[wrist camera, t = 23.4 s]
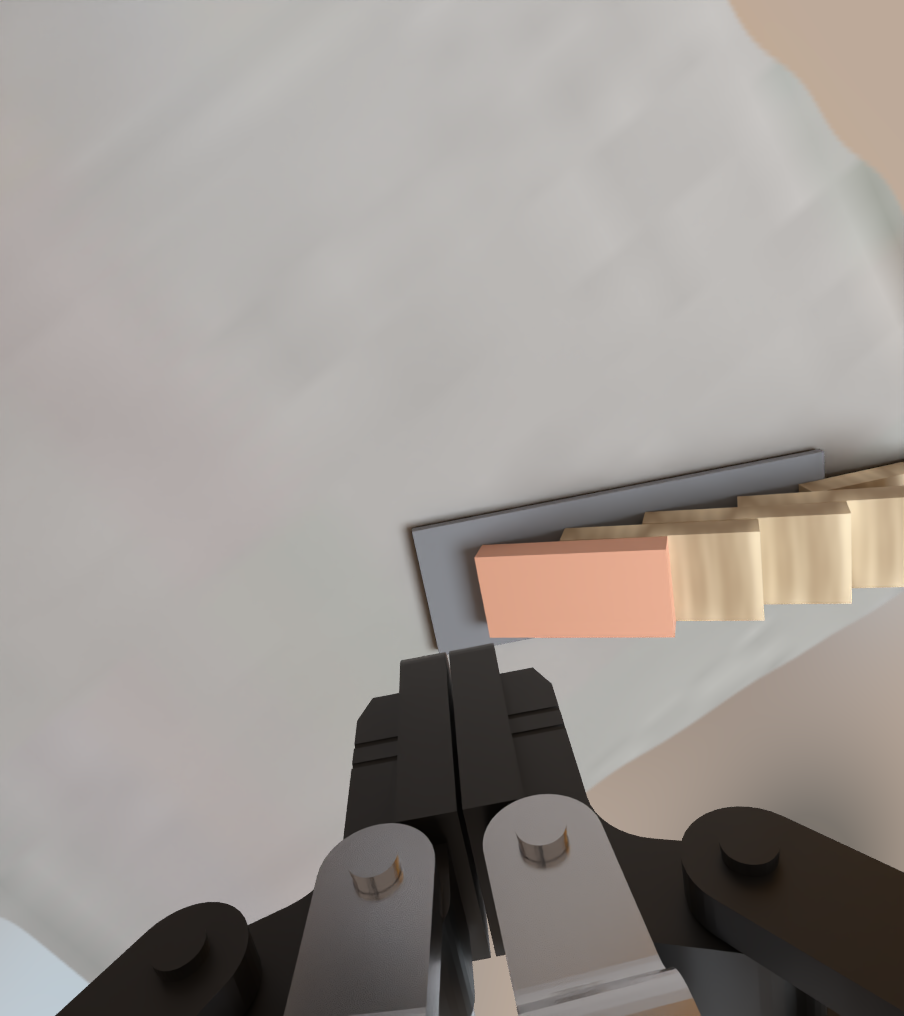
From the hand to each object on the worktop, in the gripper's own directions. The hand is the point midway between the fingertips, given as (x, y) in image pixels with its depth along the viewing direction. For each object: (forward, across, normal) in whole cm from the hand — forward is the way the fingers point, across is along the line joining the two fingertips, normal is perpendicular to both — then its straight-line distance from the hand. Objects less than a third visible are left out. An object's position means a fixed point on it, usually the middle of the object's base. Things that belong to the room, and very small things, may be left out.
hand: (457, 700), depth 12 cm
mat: (+29, -9, +12) cm, 33 cm away
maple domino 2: (+28, -10, +12) cm, 32 cm away
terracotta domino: (+28, -1, +12) cm, 30 cm away
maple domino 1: (+28, -6, +12) cm, 31 cm away
